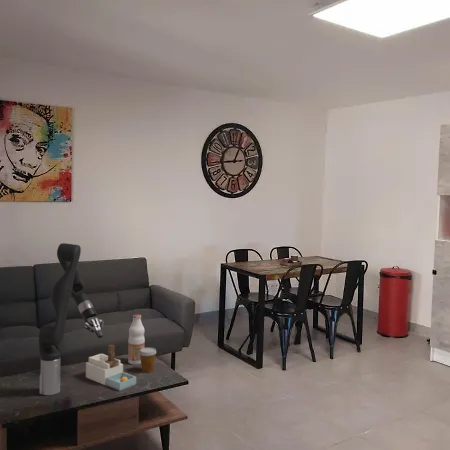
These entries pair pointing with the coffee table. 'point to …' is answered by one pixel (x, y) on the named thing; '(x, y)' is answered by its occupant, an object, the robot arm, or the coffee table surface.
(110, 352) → the plunger
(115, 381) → the bin
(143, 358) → the disposable coffee cup
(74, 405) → the coffee table surface
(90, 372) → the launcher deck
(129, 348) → the fruit juice
